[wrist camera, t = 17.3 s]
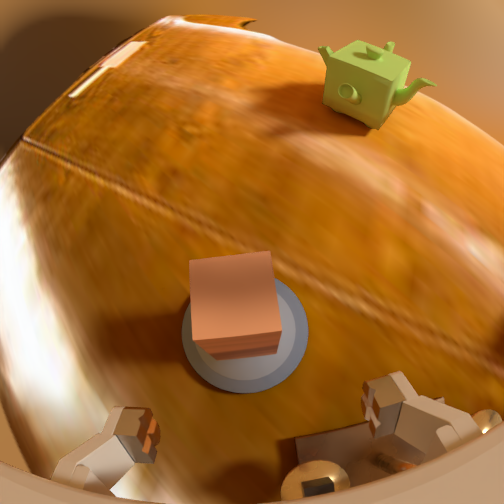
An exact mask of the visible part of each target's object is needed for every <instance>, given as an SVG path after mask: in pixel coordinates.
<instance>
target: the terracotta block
mask: <svg viewBox="0 0 504 504" xmlns="http://www.w3.org/2000/svg"><path fill="white" fill-rule="evenodd" d="M189 269H190V299H191V320H192V338H193V341H194V342H195V343H196V344H198V345H199V346H200V347H201V348H202V349H204V350H205V351H206V352H207V353H208V354H210V355H211V356H212V357H213V358H214V359H216V360H217V361H218V360H229V359H239V358H248V357H257V356H265V355H273V354H277V350H278V346H279V342H280V338H281V334H282V325H281V319H280V312H279V305H278V299H277V292H276V286H275V279H274V273H273V267H272V260H271V254H270V251H264V252H255V253H247V254H239V255H230V256H222V257H214V258H206V259H197V260H189Z"/></svg>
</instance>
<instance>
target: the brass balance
mask: <svg viewBox="0 0 504 504" xmlns="http://www.w3.org/2000/svg"><path fill="white" fill-rule="evenodd" d="M433 400H435V401H437V402H440V403H442V404H445V403H444V397H438V398H435V399H433ZM471 417H472V419H473V420H474V421H475V423H476V424H477V425H478V427H479V428H480V430H481V431H482V432H483V433H485V432H486V431H488V430H490V429H491V428H493V427H495V426H496V425H498V424H499V423H501V422H502V419H501V417H500V415H499V414H498V413H497V412H496V411H494V410H481V411H478V412H475V413H474V414H472V415H471ZM294 438H295V446H296V453H297V461H298V465H297V466H296V467H294V468H293V469H291V470H290V471H289V472H288V474H287V475H286V476H285V478H284V479H283V482H282V484H281V490H280V492H281V499H282V501H286V500H293V499H299V498H305V497H311V496H316V495H321V494H326V493H331V492H335V491H339V490H344V489H348V488H351V487H355V486H359V485H362V484H366V483H369V482H373V481H376V480H379V479H382V478H385V477H388V476H391V475H394V474H397V473H399V472H402V471H405V470H407V469H410V468H413V467H415V466H418V465H420V464H421V463H422V461H423V459H424V457H425V455H426V454H425V453H424V452H422V451H420V450H419V449H417V448H416V447H414V446H412V445H411V444H409V443H408V442H406V441H405V440H403V439H402V438H400V437H398V436H397V435H395V434H394V433H392V434H389V435H385V436H382V437H378V438H375V439H374V438H373V436H372V433H371V431H370V429H369V421H367V422H363V423H359V424H355V425H351V426H347V427H343V428H339V429H335V430H330V431H326V432H321V433H316V434H311V435H305V436H299V437H294Z"/></svg>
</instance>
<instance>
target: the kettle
mask: <svg viewBox="0 0 504 504" xmlns="http://www.w3.org/2000/svg"><path fill="white" fill-rule="evenodd" d="M394 46H395V43H394V42H388V43H387V44H386V45H385V47H384V49H381V48H379V47H376V46H373V45H371V44H368V43H365V42H362V41H360V40H356V41H354V42H352V43H351V44H349V45H347V46H345V47H343V48H342V49H340V50H338V51H337V52H335V53H334V52H333V51H332V50H331V49H330V47H329V46H321V47H318V50H319V52H320V54H321V56H322V58H323V60H324V62H325V64H326V66H327V70H326V78H325V86H324V93H323V101H322V104H324V105H326V106H328V107H331V108H332V109H333V110H334V111H335V112H338V113H344V114H346V115H348V116H351V117H353V118H355V119H357V120H359V121H361V122H363V123H364V124H365V125H366V126H367V127H369V128H372V129H377V130H379V129H380V127H381V126H382V125H383V123H384V122H385V121H386V119H387V118H388V117H389V115H390V114H391V113H392V111H393V110H394V108H395V107H396V106H399V105H403V104H406V103H407V102H408V101H410V100H411V99H412V97H413V96H414V95H415V94H416V93H417V91H418V90H419V89H421V88H422V87H425V86H437V85H436V84H435V83H433V82H431V81H429V80H427V79H424V78H418V79H416V80H414V81H413V82H412V84H411V85H410V86H409V87H407V88H405V89H403V88H404V85H405V81H406V78H407V75H408V71H409V68H410V64H411V61H409V60H407V59H405V58H403V57H400V56H398V55H395V54H393V53H392V51H393V48H394Z"/></svg>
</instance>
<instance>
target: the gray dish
mask: <svg viewBox="0 0 504 504" xmlns="http://www.w3.org/2000/svg"><path fill="white" fill-rule="evenodd" d="M274 279H275V278H274ZM275 286H276V292H277V299H278V305H279V312H280V319H281V325H282V334H281V338H280V342H279V346H278V350H277V354H273V355H265V356H257V357H248V358H239V359H229V360H218V361H217V360H216V359H214V358H213V357H212V356H211V355H210V354H208V353H207V352H206V351H205V350H204V349H202V348H201V347H200V346H199V345H198V344H196V343H195V342H194V341H193V338H192V320H191V302H190V304H189V305H188V308H187V310H186V312H185V315H184V319H183V324H182V342H183V347H184V351H185V353H186V356H187V358H188V360H189V362H190V364H191V365H192V367H193V368H194V369H195V371H196V372H197V373H198V374H199V375H200V376H201V377H202V378H203V379H205V380H206V381H207V382H209V383H210V384H212V385H214V386H216V387H218V388H220V389H223V390H226V391H230V392H235V393H254V392H260V391H263V390H266V389H269V388H271V387H273V386H275V385H277V384H279V383H280V382H282V381H283V380H284V379H286V378H287V377H288V376H289V375H290V374H291V373H292V372H293V371H294V369H295V368H296V367H297V365H298V364H299V362H300V361H301V359H302V357H303V355H304V352H305V349H306V346H307V340H308V323H307V318H306V314H305V311H304V309H303V306H302V304H301V303H300V301H299V299H298V298H297V297H296V295H295V294H294V293H293V292H292V291H291V290H290V289H289V288H288V287H287V286H286V285H285V284H283V283H282V282H280V281H279V280H277V279H275Z"/></svg>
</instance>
